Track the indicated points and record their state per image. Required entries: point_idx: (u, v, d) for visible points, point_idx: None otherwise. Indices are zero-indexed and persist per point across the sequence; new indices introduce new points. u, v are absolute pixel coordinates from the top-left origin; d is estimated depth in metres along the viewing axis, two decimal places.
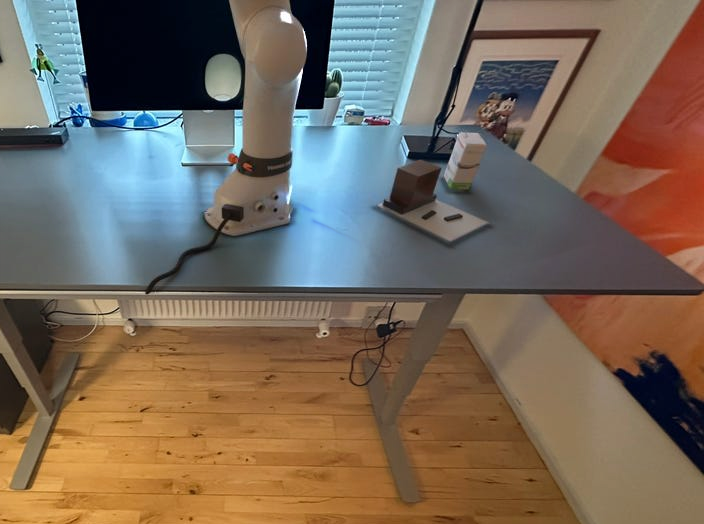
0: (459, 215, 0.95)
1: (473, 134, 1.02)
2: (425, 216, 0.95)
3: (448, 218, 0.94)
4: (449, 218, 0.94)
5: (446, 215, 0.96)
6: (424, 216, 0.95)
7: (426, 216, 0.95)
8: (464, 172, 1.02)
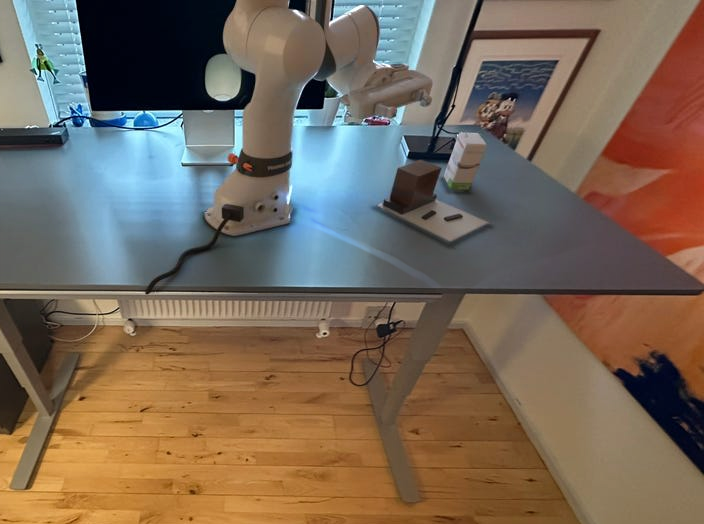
0: (459, 215, 0.95)
1: (473, 134, 1.02)
2: (425, 216, 0.95)
3: (448, 218, 0.94)
4: (449, 218, 0.94)
5: (446, 215, 0.96)
6: (424, 216, 0.95)
7: (426, 216, 0.95)
8: (464, 172, 1.02)
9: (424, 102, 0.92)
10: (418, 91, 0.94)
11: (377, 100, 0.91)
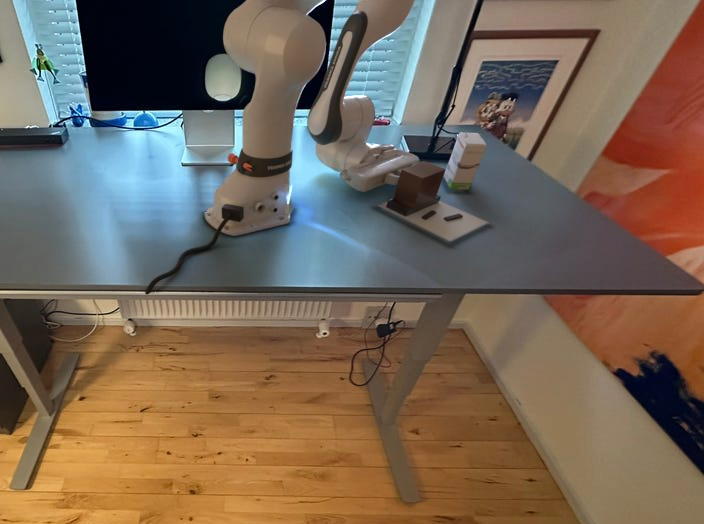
0: (459, 215, 0.95)
1: (473, 134, 1.02)
2: (425, 216, 0.95)
3: (448, 218, 0.94)
4: (449, 218, 0.94)
5: (446, 215, 0.96)
6: (424, 216, 0.95)
7: (426, 216, 0.95)
8: (464, 172, 1.02)
9: None
10: (398, 171, 1.01)
11: (377, 175, 0.98)
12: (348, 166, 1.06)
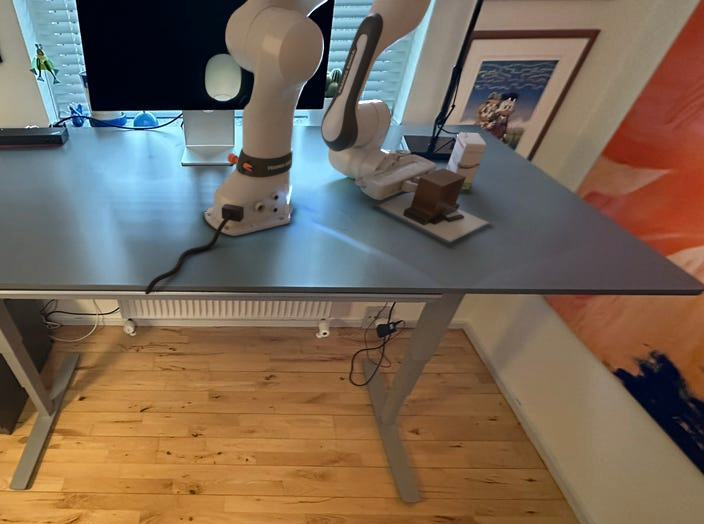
0: (460, 216, 0.95)
1: (473, 134, 1.02)
2: (434, 221, 0.94)
3: (450, 219, 0.94)
4: (451, 219, 0.94)
5: (446, 215, 0.96)
6: (433, 221, 0.94)
7: (435, 221, 0.94)
8: (464, 172, 1.02)
9: None
10: (415, 178, 0.98)
11: (394, 182, 0.95)
12: (363, 173, 1.03)
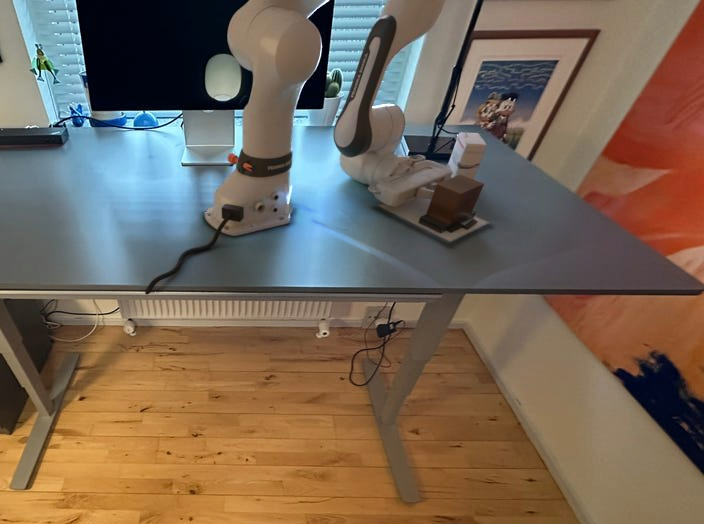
0: (474, 221, 0.93)
1: (473, 134, 1.02)
2: (451, 229, 0.91)
3: (468, 226, 0.92)
4: (468, 226, 0.92)
5: None
6: (450, 229, 0.91)
7: (452, 229, 0.91)
8: (464, 172, 1.02)
9: None
10: (430, 184, 0.96)
11: (409, 189, 0.93)
12: (376, 179, 1.01)
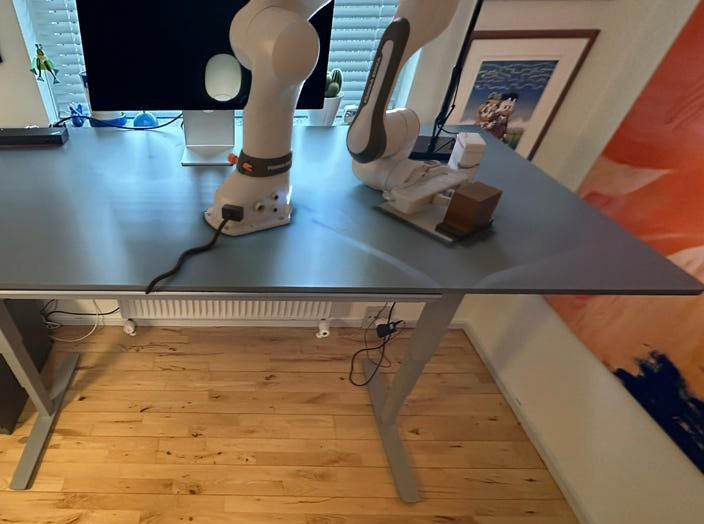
0: None
1: (473, 134, 1.02)
2: None
3: None
4: None
5: None
6: None
7: None
8: (464, 172, 1.02)
9: None
10: (446, 191, 0.93)
11: (425, 196, 0.90)
12: (390, 185, 0.98)
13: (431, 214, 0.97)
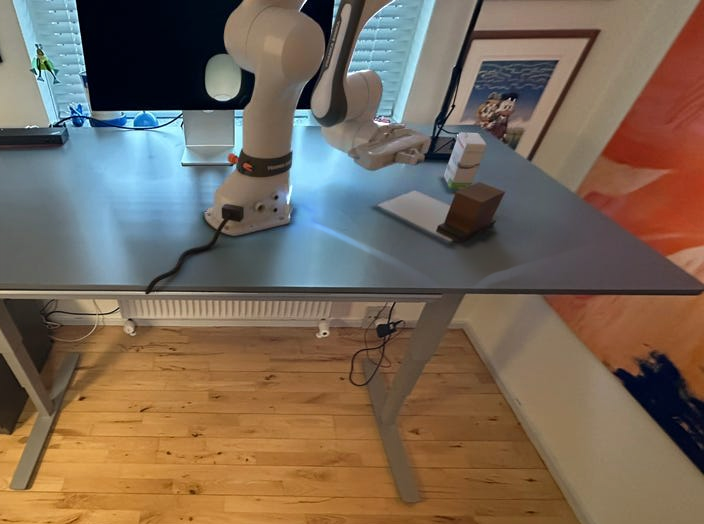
0: None
1: (473, 134, 1.02)
2: None
3: None
4: None
5: (446, 215, 0.96)
6: None
7: None
8: (464, 172, 1.02)
9: None
10: (409, 150, 0.96)
11: (387, 153, 0.93)
12: (356, 145, 1.01)
13: (431, 214, 0.97)
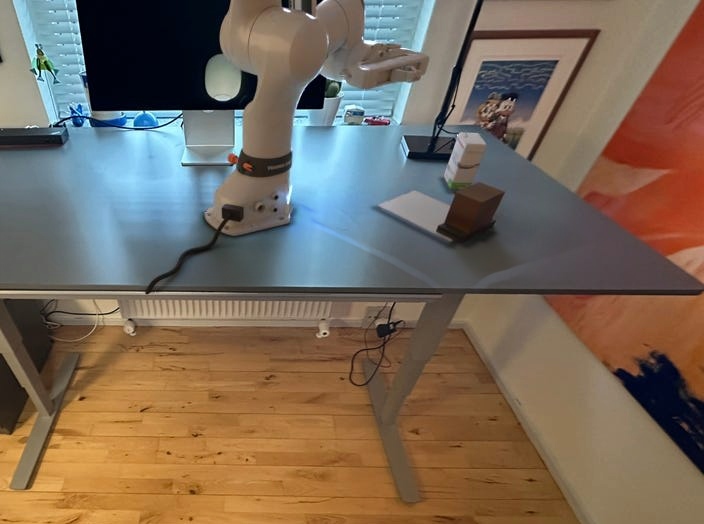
0: None
1: (473, 134, 1.02)
2: None
3: None
4: None
5: (446, 215, 0.96)
6: None
7: None
8: (464, 172, 1.02)
9: None
10: (405, 67, 0.89)
11: (381, 69, 0.86)
12: None
13: (431, 214, 0.97)
